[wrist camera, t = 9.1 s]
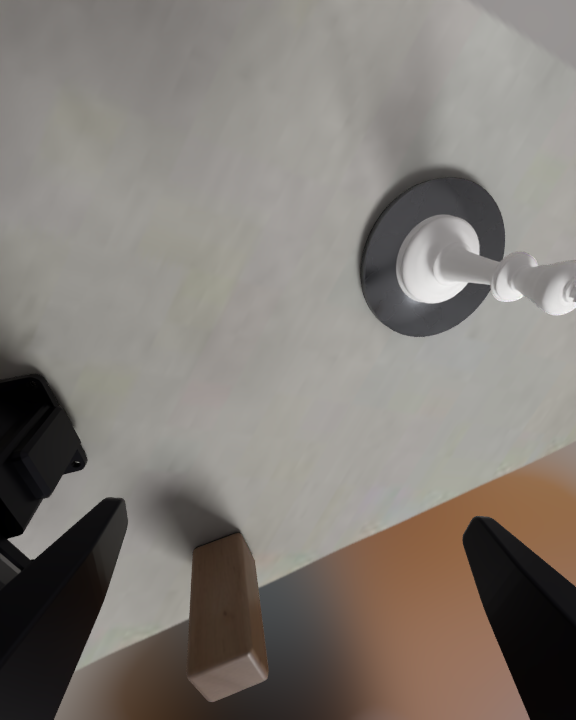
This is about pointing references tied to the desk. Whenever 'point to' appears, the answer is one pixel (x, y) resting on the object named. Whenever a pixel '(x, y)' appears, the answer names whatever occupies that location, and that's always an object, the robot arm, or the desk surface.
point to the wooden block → (225, 620)
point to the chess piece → (477, 268)
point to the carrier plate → (392, 231)
